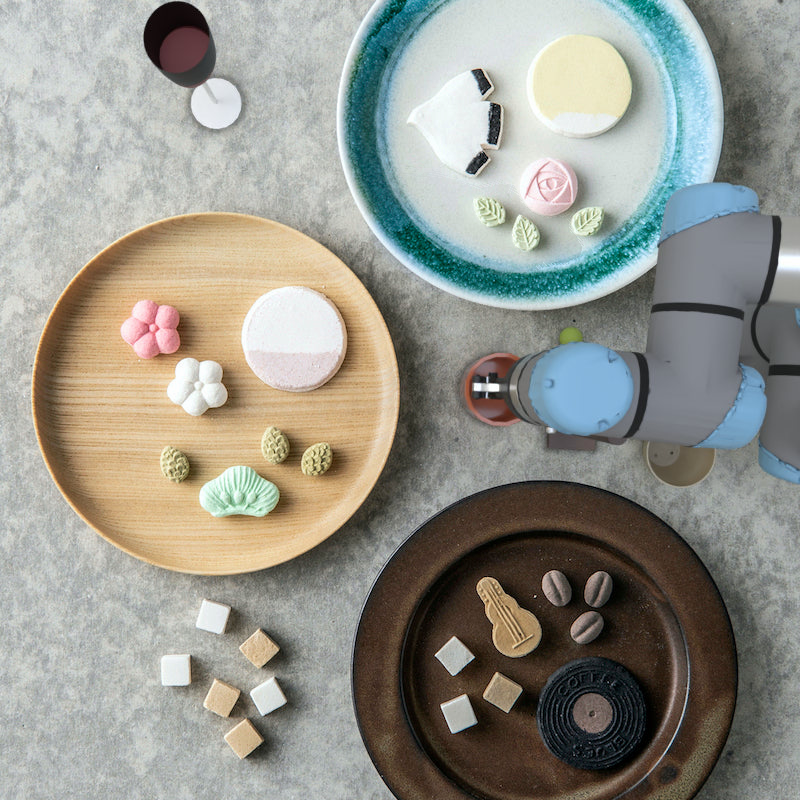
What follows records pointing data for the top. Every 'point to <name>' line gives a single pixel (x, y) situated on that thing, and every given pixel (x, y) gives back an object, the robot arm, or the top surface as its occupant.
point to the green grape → (570, 335)
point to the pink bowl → (487, 408)
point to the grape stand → (579, 441)
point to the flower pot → (678, 463)
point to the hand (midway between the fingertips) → (506, 389)
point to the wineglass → (191, 61)
